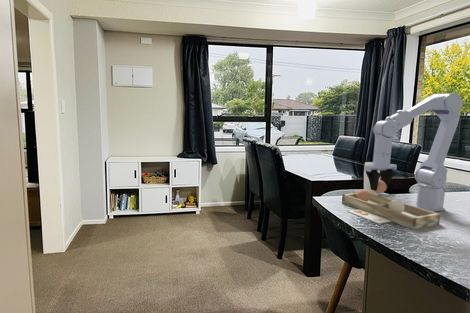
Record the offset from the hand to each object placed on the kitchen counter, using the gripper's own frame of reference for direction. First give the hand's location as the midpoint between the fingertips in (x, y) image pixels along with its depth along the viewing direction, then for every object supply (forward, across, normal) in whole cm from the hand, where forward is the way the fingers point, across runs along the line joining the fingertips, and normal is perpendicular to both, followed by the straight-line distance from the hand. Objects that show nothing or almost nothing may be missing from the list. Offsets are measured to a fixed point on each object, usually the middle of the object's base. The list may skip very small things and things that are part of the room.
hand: (378, 189), depth 121 cm
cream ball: (+4, 0, +8) cm, 9 cm away
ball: (+4, 0, -7) cm, 8 cm away
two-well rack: (+8, 0, +4) cm, 9 cm away
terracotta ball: (-1, 0, 0) cm, 1 cm away
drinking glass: (+8, -12, -14) cm, 20 cm away
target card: (+8, +10, +5) cm, 14 cm away
